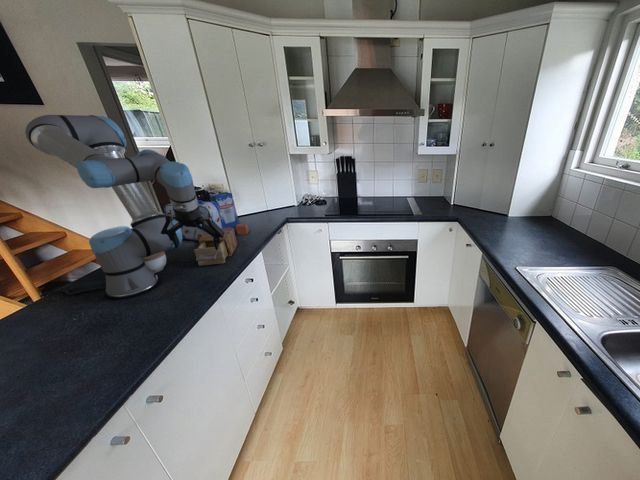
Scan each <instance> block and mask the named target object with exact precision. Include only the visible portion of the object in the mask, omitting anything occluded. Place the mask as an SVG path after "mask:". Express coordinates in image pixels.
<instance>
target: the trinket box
mask: <svg viewBox="0 0 640 480" xmlns="http://www.w3.org/2000/svg"><path fill="white" fill-rule="evenodd" d="M143 259H144V262H145V264H146V266H147V267H148V268H149V269H150V270H151V271H152V272H153V273H154V274H155V273H158V272H161V271H163V270H164V268H165V266H166V264H167V255H166V252H165V251H163V252H160V253H157V254H154V255H151V256H148V257H145V258H143Z"/></svg>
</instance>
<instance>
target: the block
mask: <svg viewBox="0 0 640 480" xmlns="http://www.w3.org/2000/svg"><path fill="white" fill-rule="evenodd" d="M235 230H236V234H237V235H238V236H241V235H248V233H249V227H248V223H246V222H244V223H239V224H237V226H235Z"/></svg>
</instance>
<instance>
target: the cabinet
mask: <svg viewBox="0 0 640 480" xmlns="http://www.w3.org/2000/svg"><path fill="white" fill-rule="evenodd" d="M221 229H222V230H223V231H224V237H223V238H220V240H225V241H226V245H227V249H228V255H227V256H226V258H227V257H232V256H233V254H234V252H235V250H236V248H237V247H238V242H237V238H236V237H237V236H236V233H235V229H234V227H231V228H221ZM213 238H214V237H213V236H211V235H209V234H208V233H206V232H205V233H204V235H203V236H202V237H201V238H200V239H199V240H198V243H199V245H200V244H201V243H202V242H203V241H213Z"/></svg>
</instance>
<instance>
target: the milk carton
mask: <svg viewBox="0 0 640 480" xmlns="http://www.w3.org/2000/svg"><path fill="white" fill-rule="evenodd" d="M208 196H209V199H210V202H213V203H215V204H216V205H217V206H218V207H219V210H220V213H222V215H223V217H222V223H223V227H224V228H234V227H236V226H237V224H240V222H239V218H238V213H237V210H236V204H235V200H234V197H233V193H232V192H228V191H223V192H218V193H213V194H209V195H208Z"/></svg>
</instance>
